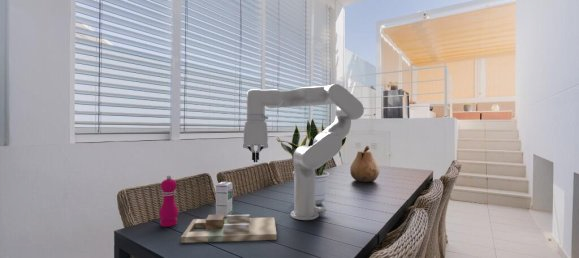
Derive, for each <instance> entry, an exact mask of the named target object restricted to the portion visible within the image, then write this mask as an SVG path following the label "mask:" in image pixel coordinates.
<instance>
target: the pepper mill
mask: <svg viewBox="0 0 579 258" xmlns="http://www.w3.org/2000/svg"><path fill="white" fill-rule="evenodd" d="M177 183H178V182H177V181H176V180H175V179H172V175H170V174H168V175H167V176H166V179H163V181H162V182H161V183H160V188H161V190H162V191H161V193H162V194H161V195H162V196H163V201H162V205H161V207H160V209H159V211H158V212H159V215H158V217H159V218H160V227H165V228H167V227H173V226H176V225H177V223H178V218H177V217H178V215H179V208H178V207H177V204H176V201H175V195H176V188H177V186H178V184H177Z"/></svg>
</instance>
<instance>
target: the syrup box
mask: <svg viewBox="0 0 579 258" xmlns="http://www.w3.org/2000/svg"><path fill="white" fill-rule="evenodd" d="M233 191H234V189H233V181H221V182H218V183H216V184H215V215H221V214H224V218H227V215H233V213H234V205H233V203H234V200H233V199H234V197H233V195H234V194H233V193H234V192H233Z"/></svg>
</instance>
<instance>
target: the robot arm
mask: <svg viewBox="0 0 579 258" xmlns="http://www.w3.org/2000/svg"><path fill="white" fill-rule="evenodd" d="M246 93H247V94H246V122H245V123H244V129H243V144H242V145H243V146H242V147H243V148H244V149H248V150H249V151H250V152H251V160H252V161H253V163H258V161H259V160H260V152H261V151H262V150H264V149H268V148H269V144H268V141H269V139H268V138H269V137H268V135H269V134H268V125H267V124H268V123H267V121H266V120H268V119H269V116H267V115H265V113H266V109H265V108H268V109H276V108H277V109H279V108H291V107H295V108H296V107H299V108H300V107H312V106H326V105H333V104H334V105H335V106H336V108H335V117H334V121H333V122H332V123H331V124H330V125H329V126H327V127H326V128H325V129H324V130H322V131H321V132H319V133H317V134H316V136H315V137H314V139H313V140H312V145H310V146H309V145H301V146H298V147H297V148H295V150H294V151H293V155H292V156H293V157H292V158H293V159H292V160H293V162H292V163H293V170H294V171H293V173H294V178H293V179H294V181H293V183H294V186H293V188H294V190H293V193H294V194H293V210H292V211H291V212H290V216H291V218H293V219H296V220H300V221H310V220H311V221H312V220H316V219H317V218H319V213H326V211H327V208H326V207H323V206H317V205H316V180H317V179H316V170H317V169H320V168H321V167H323V166H324V164H326V163H327V162H329V161H330V160H331V159H333V158H334V157H335V156H336V155H337V154H339V152H340V151H341V149H342V145H343V139H344V138H345V137H346V136H348V134H349V132H350V130H351V126H352V120H355V121H356V120H358V119H360V118H361V117H362V116H364V115H363V114H364V111H365V107H364V105H363V103H362V102H361V101H360V100H359V98H357V97H356V96H355V95H353V93H351V92H350V91H349V90H348V89H346V88H345V87H344V86H342V85H341V84H339V83H333V84H329V85H322V86H321V85H317V86H303V87H298V88H295V89H291V90H279V89H276V88H275V89H256V88H255V89H254V88H253V89H249V90H248V91H247V92H246ZM255 146H257V147H256V148H257V149H256V150H255Z"/></svg>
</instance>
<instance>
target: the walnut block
mask: <svg viewBox="0 0 579 258" xmlns="http://www.w3.org/2000/svg"><path fill="white" fill-rule="evenodd" d="M205 219H206V229H222V228H223V226H224V219H225V217H224V214H221V215H216V214H208V216H207V217H206V218H205Z"/></svg>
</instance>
